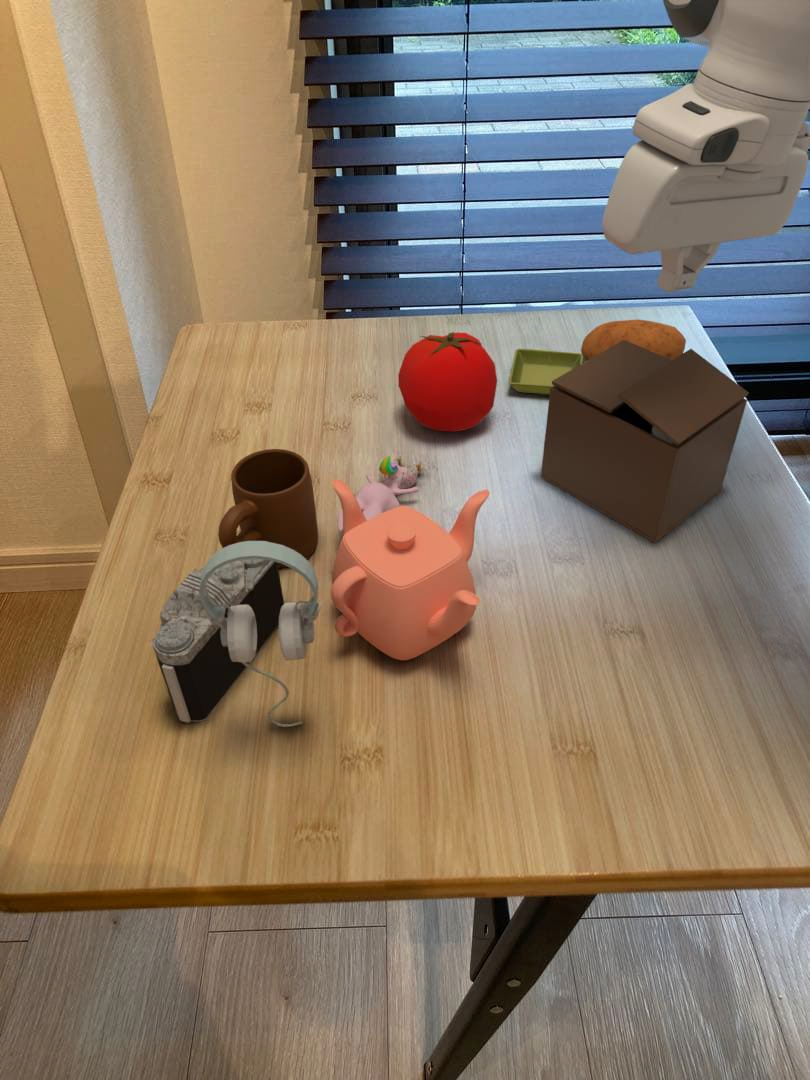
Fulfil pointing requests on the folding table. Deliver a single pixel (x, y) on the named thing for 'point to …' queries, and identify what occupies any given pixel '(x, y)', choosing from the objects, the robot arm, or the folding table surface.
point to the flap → (683, 396)
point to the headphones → (241, 618)
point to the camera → (212, 633)
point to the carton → (630, 446)
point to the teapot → (403, 576)
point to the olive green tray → (540, 369)
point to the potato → (635, 338)
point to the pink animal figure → (384, 489)
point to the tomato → (448, 381)
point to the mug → (272, 502)
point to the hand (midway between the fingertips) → (673, 287)
